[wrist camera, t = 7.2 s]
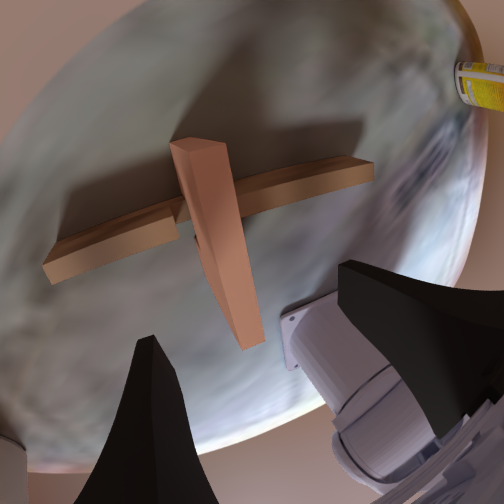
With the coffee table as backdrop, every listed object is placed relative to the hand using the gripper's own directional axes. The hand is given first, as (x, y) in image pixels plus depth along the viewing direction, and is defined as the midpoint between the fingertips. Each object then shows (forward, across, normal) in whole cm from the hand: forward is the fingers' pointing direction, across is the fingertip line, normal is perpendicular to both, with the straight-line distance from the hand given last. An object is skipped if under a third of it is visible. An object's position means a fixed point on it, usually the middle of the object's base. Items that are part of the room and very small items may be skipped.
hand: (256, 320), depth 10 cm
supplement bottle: (+9, -32, -10) cm, 35 cm away
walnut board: (+9, -1, -2) cm, 9 cm away
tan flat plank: (+9, 0, -1) cm, 9 cm away
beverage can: (+9, +37, +19) cm, 43 cm away
